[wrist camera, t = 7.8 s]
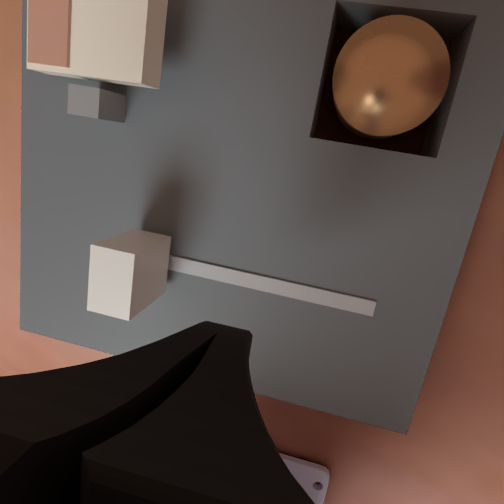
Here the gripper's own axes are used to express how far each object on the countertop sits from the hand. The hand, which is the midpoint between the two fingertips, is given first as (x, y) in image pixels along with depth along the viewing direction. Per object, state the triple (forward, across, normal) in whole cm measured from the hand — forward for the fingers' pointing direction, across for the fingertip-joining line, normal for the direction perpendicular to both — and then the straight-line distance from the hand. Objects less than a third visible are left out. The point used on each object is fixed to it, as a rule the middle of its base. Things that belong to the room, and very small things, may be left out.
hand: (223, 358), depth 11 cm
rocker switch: (+4, +7, -8) cm, 12 cm away
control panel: (+8, +2, -4) cm, 10 cm away
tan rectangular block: (+5, +5, 0) cm, 7 cm away
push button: (+8, -3, -8) cm, 12 cm away
